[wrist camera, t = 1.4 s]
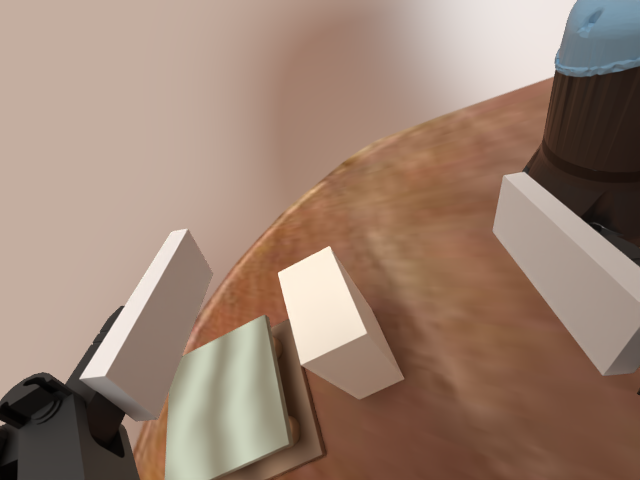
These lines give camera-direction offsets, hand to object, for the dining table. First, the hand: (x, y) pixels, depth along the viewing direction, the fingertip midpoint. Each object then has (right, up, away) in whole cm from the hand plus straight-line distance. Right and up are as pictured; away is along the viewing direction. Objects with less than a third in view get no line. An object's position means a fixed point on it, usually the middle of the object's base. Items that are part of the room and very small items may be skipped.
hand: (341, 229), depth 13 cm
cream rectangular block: (+5, -14, +23) cm, 27 cm away
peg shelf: (-10, -21, +25) cm, 34 cm away
